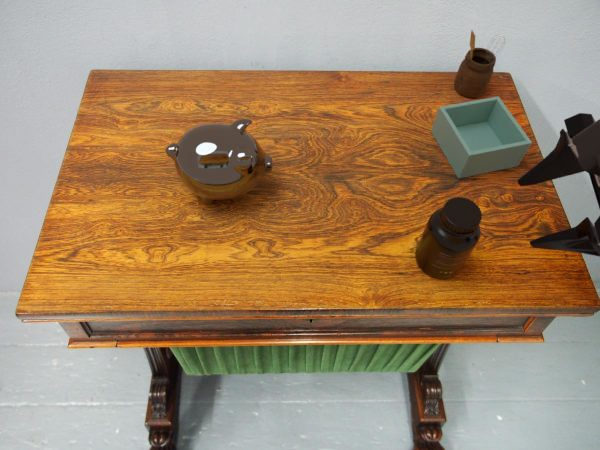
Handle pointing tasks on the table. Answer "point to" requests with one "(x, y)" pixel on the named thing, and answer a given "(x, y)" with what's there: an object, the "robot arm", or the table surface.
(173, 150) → the piggy bank
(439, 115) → the open storage bin
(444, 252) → the supplement bottle
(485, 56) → the utensil holder
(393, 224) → the table surface
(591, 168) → the robot arm
